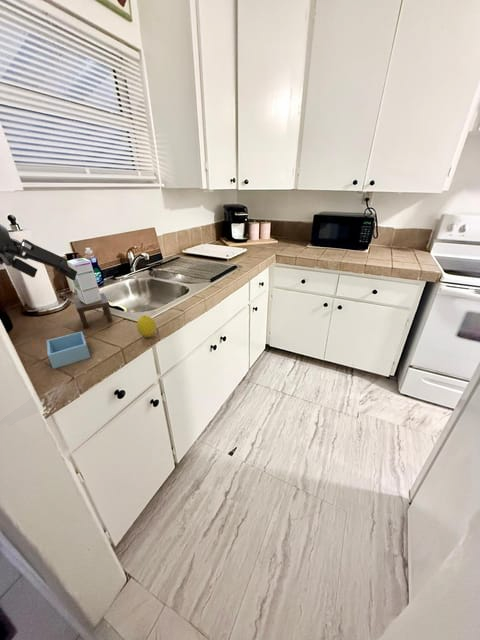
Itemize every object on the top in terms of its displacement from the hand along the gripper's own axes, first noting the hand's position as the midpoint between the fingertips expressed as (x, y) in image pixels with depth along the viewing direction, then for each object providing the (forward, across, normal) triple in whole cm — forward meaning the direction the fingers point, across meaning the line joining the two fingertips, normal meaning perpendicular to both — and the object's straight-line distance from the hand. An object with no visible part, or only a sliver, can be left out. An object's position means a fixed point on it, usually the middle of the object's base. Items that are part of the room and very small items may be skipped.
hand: (54, 274), depth 77 cm
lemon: (+17, -25, +13) cm, 33 cm away
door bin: (+7, -7, +22) cm, 25 cm away
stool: (+22, 0, +7) cm, 23 cm away
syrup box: (+17, 0, +2) cm, 17 cm away
